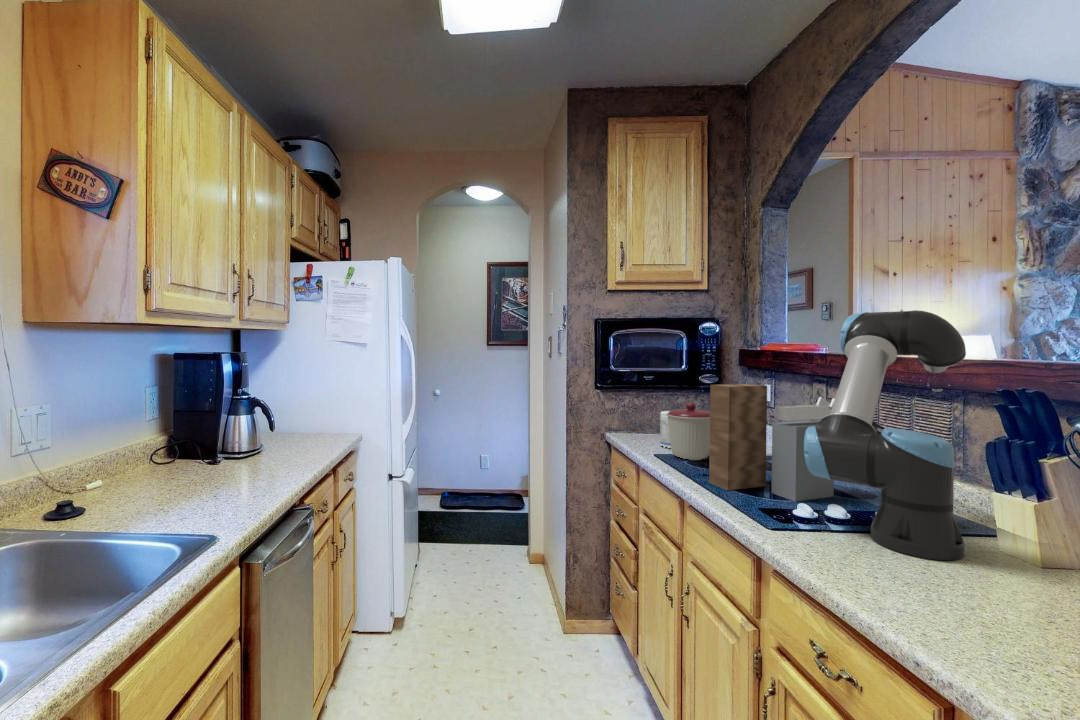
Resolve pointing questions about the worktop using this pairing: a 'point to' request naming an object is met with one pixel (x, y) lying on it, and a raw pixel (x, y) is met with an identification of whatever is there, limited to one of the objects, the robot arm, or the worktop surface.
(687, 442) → the canister
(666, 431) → the supplement tub
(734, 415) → the walnut column
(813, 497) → the gray rectangular block
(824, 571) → the worktop surface
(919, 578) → the worktop surface
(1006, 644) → the worktop surface
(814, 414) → the steel lever bar
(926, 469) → the robot arm
